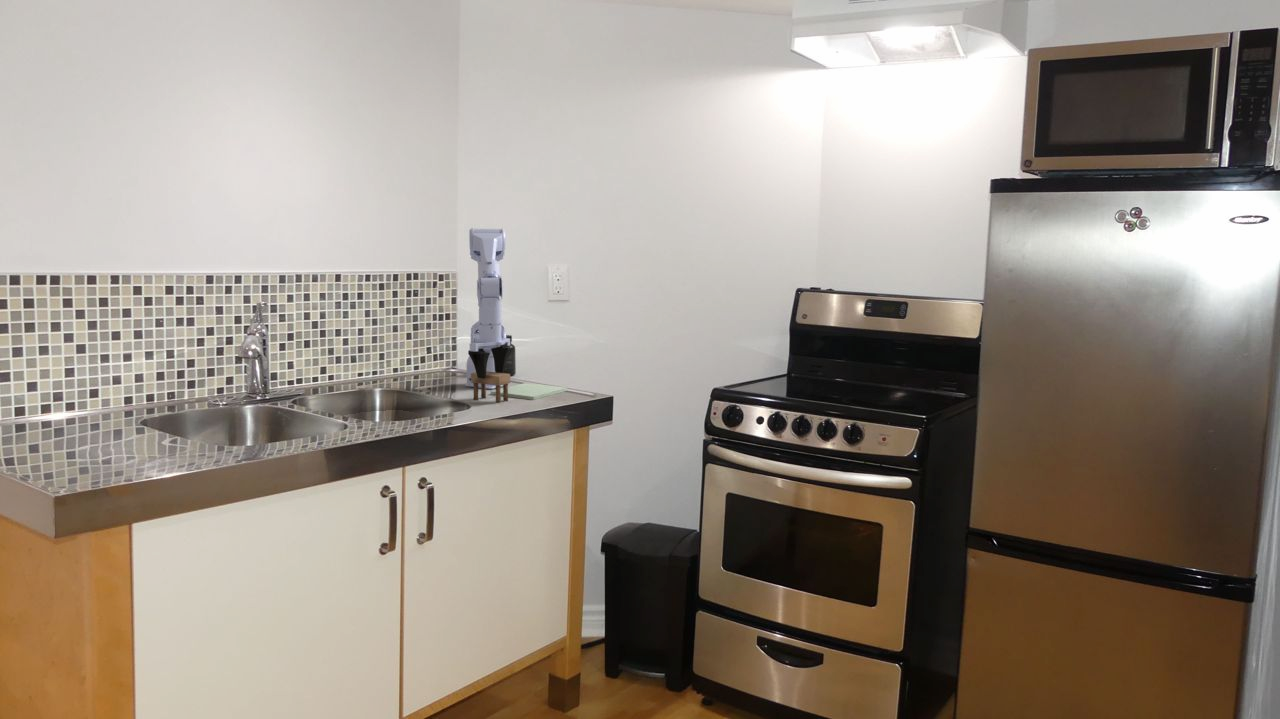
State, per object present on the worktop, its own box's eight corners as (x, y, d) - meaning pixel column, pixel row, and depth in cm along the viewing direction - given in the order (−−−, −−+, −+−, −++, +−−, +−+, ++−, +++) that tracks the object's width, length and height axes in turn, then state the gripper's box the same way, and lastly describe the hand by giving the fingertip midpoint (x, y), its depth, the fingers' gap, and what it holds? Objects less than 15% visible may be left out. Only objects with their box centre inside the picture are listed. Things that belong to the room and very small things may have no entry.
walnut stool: (471, 399, 252) (471, 373, 251) (482, 396, 256) (482, 370, 255) (499, 403, 248) (498, 376, 247) (510, 400, 252) (510, 374, 251)
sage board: (490, 394, 260) (490, 391, 260) (525, 385, 274) (525, 382, 274) (533, 399, 253) (533, 396, 253) (566, 390, 267) (566, 387, 267)
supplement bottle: (517, 373, 294) (517, 334, 293) (512, 377, 288) (512, 337, 286) (495, 372, 295) (495, 333, 293) (490, 376, 288) (489, 336, 287)
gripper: (485, 327, 241) (485, 381, 243) (519, 322, 253) (519, 373, 255) (462, 325, 244) (463, 378, 246) (497, 320, 257) (498, 371, 259)
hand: (490, 376), depth 251 cm, fingers open, 7 cm apart
